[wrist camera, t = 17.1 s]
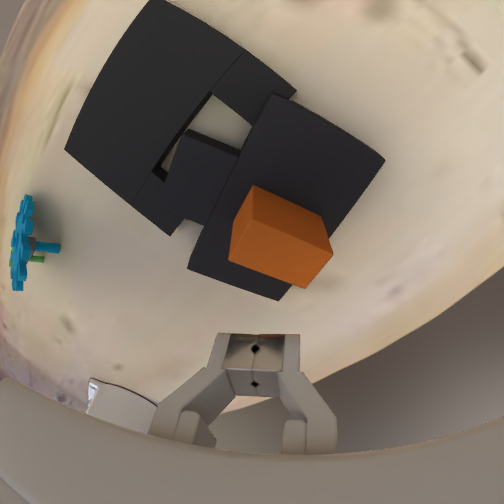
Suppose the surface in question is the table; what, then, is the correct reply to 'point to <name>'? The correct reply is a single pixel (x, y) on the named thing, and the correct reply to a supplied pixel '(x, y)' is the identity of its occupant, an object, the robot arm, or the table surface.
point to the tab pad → (273, 166)
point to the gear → (25, 245)
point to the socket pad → (162, 101)
